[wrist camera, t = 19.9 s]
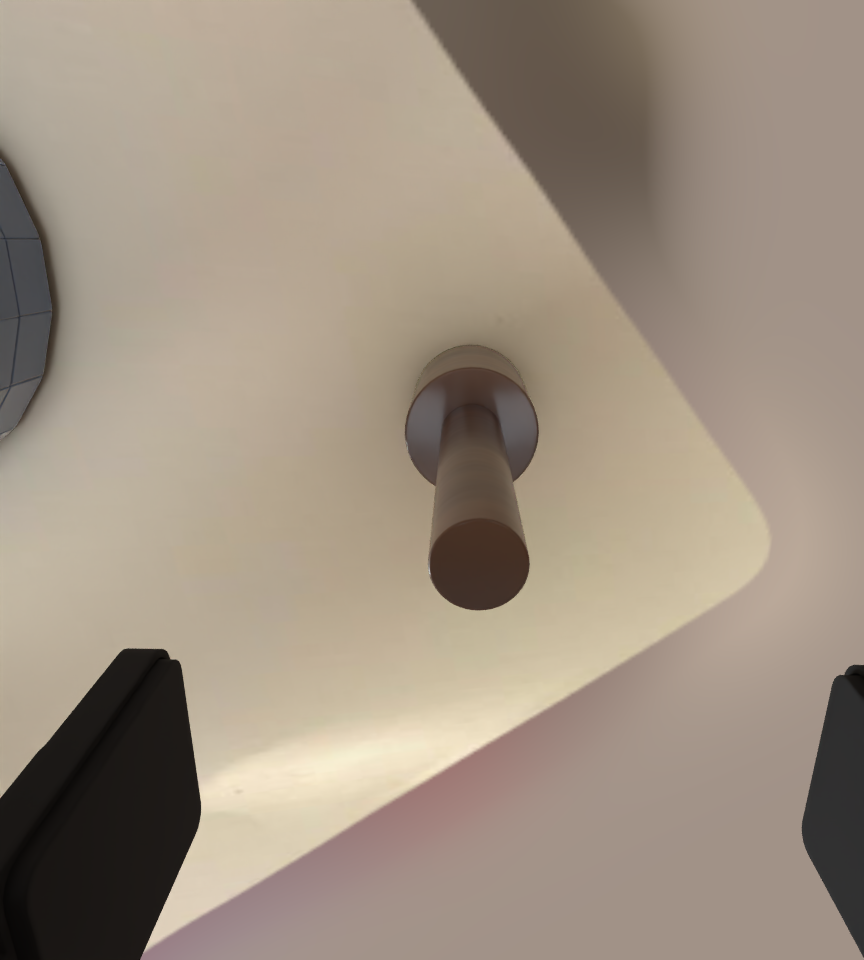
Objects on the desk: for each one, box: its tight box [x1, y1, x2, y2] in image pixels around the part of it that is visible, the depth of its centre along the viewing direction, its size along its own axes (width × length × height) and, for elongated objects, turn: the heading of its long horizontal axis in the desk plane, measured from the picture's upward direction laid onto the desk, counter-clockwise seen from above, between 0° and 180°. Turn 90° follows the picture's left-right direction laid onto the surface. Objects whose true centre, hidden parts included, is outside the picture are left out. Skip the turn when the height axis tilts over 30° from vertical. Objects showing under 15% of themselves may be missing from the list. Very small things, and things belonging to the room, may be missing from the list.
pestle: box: [405, 345, 539, 610], centre depth 21 cm, size 4×4×15 cm
